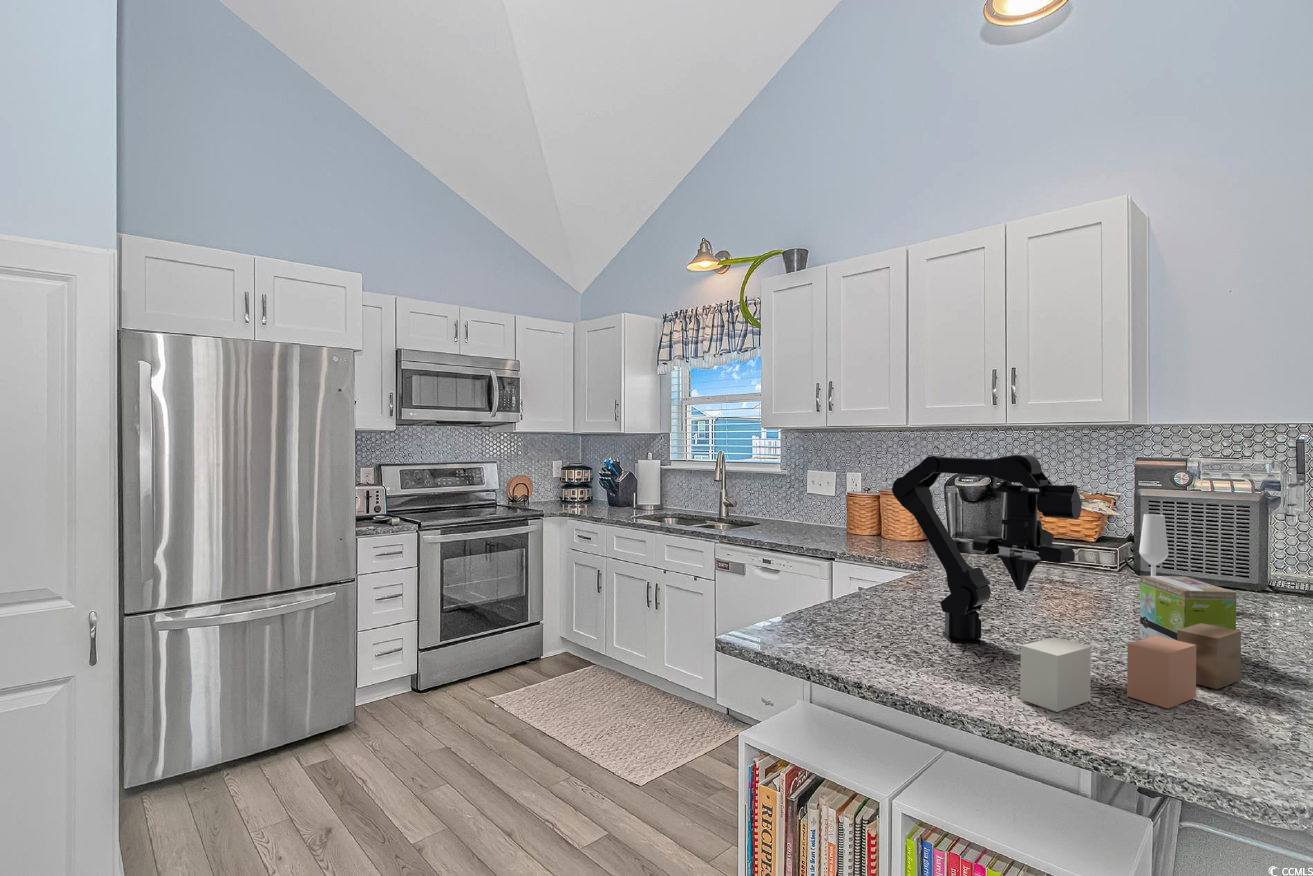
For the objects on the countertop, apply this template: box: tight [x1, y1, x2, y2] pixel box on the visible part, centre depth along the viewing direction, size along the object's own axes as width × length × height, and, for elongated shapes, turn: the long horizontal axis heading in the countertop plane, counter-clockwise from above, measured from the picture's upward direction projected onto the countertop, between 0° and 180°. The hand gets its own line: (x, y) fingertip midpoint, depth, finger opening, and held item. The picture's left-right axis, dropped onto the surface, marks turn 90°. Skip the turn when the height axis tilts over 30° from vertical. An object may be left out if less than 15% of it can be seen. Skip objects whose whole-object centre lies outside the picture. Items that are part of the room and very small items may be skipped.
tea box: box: [1139, 575, 1237, 640], centre depth 139 cm, size 15×10×15 cm, turn 174°
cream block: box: [1019, 637, 1092, 713], centre depth 110 cm, size 6×10×9 cm, turn 120°
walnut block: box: [1177, 623, 1242, 690], centre depth 121 cm, size 6×10×9 cm, turn 120°
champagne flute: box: [1138, 513, 1170, 576], centre depth 187 cm, size 7×7×24 cm
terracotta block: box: [1126, 636, 1197, 709], centre depth 112 cm, size 6×10×9 cm, turn 120°
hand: (1020, 590), depth 136 cm, fingers closed
